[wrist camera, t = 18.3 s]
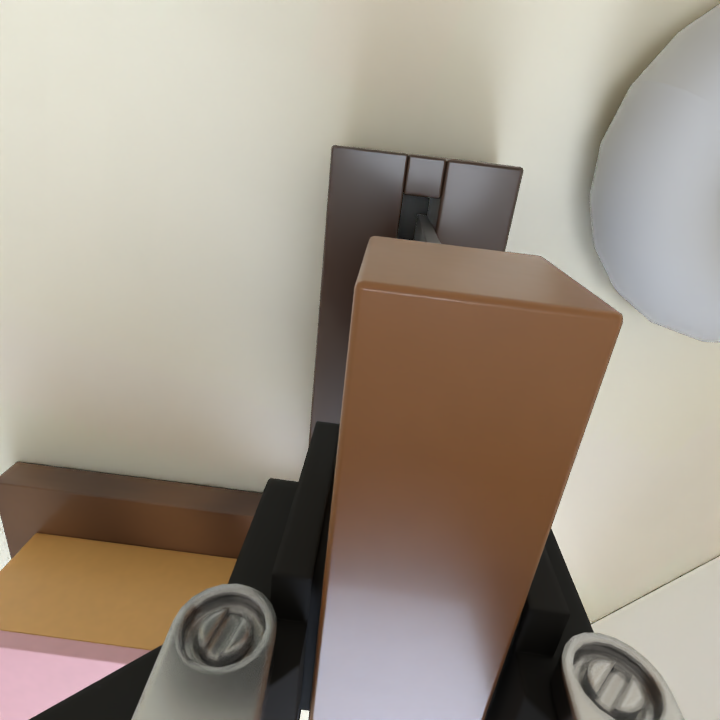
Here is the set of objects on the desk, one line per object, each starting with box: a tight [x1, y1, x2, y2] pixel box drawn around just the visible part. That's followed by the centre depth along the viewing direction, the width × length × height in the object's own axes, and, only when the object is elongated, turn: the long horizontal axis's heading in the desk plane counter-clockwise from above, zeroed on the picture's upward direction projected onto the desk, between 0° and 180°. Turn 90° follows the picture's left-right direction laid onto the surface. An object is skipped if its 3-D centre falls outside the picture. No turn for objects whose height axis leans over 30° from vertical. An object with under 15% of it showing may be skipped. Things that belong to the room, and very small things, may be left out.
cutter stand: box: [309, 145, 523, 445], centre depth 17 cm, size 5×13×4 cm, turn 174°
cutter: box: [309, 214, 623, 720], centre depth 11 cm, size 2×11×10 cm, turn 174°
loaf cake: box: [0, 533, 237, 720], centre depth 20 cm, size 10×7×5 cm
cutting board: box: [0, 462, 263, 559], centre depth 23 cm, size 20×12×2 cm, turn 84°
